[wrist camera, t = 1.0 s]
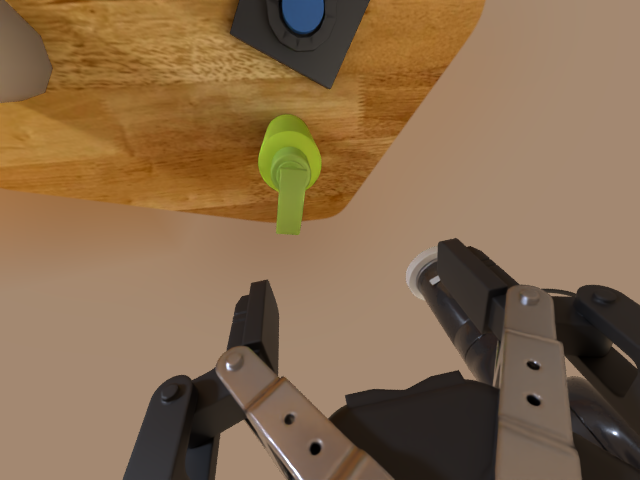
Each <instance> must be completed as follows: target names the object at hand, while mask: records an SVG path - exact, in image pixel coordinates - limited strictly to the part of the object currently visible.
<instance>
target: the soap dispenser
mask: <svg viewBox="0 0 640 480" xmlns="http://www.w3.org/2000/svg"><path fill="white" fill-rule="evenodd" d="M258 167H259V171H260V174H261V176H262V178H263V180H264V181H265V182H266V183H267V184H268V185H269V186H270V187H271V188H272V189H274V190H276V191H278V192H279V197H278V212H277V227H276V233H277V234H292V235H299V233H300V228H301V221H302V213H303V205H304V196H305V190H307V189H308V188H310V187H311V186H312V185H313V184H314V183H315V181H316V180H317V178H318V176H319V174H320V171H321V155H320V152H319V150H318V148H317V146H316V144H315V142H314V140H313V137H312V135H311V133H310V131H309V129H308V127H307V126H306V124H305V123H304V122H303V121H302V120H301V119H300V118H298V117H296V116H293V115H281V116H278V117H276V118H275V119H273V120H272V121H271V122H270V124H269V125H268V127H267V130H266V133H265V136H264V140H263V143H262V146H261V149H260V152H259V157H258Z"/></svg>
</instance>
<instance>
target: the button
mask: <svg viewBox="0 0 640 480" xmlns="http://www.w3.org/2000/svg"><path fill="white" fill-rule="evenodd" d="M323 12H324V2H323V0H282V14H283V18H284V20H285V22H286V24H287V26H288V27H289V28H290V29H291V30H292V31H293V32H295V33H298V34H308V33H310V32H312V31H313V30H315V29H316V27H317V26H318V25H319V23H320V21H321V19H322V16H323Z"/></svg>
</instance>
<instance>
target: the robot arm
mask: <svg viewBox="0 0 640 480" xmlns="http://www.w3.org/2000/svg"><path fill="white" fill-rule="evenodd" d="M416 287H417V289H418V290H419V292H420V293H421V294H422V296H423V297H424V299H425V300H426V302H427V304H428V305H429V307H430V308H431V310H432V312H433V313H434V314H435V316H436V318H437V319H438V321H439V322H440V324H441V326H442V327H443V329H444V330H445V332H446V333H447V335H448V337H449V338H450V340H451V341H452V343H453V344H454V346H455V347H456V349H457V350H458V352H459V354H460V355H461V357H462V358H463V360H464V361H465V363H466V364H467V366H468V368H469V369H470V371H471V372H472V374H473V375H474V377H475V378H476V380H477V381H473V380H465V379H464V378H463V377H462V375H461V373H460V372H459V370H458V371H453V372H449V373H444V374H440V375H435V376H431V377H429V378H427V379H425V380H423V381H421V382H419V383H417V384H416V385H414V386H412V387H410V388H408V389H406V390H385V389H372V390H367V391H362V392H358V393H353V394H348V395H345V397H346V402H347V405H345V406H343V407H341V408H340V409H338V410H337V411H336V412H335V413H333V414H332V415H331V416H330V417H329V418H328V419H327V418H326V417H325V416H324V415H323V414H322V413H321V412H320V411H319V410H318V409H317V408H316V407H315V406H314V405H313V404H312V403H311V402H310V401H309V400H308V399H307V398H306V397H305V396H304V395H303V394H302V393H301V392H300V391H299V390H298V389H297V388H296V387H295V386H294V385H293V384H292V383H291V382H290V381H289V380H288V379H286V378H285V377H281V378H279V377H278V348H279V313H278V307H277V303H276V300H275V298H274V295H273V292H272V289H271V286H270V283H269V281H268V280H263V281H259V282H254V283H251V287H250V294H249V295H246V296H242V297H241V298H240V300H239V301H238V303H237V304H236V307H235V312H234V317H233V323H232V327H231V332H230V336H229V341H228V346H227V351H226V352H225V353H224V354H223V355H222V356H221V357H220V358H219V360H218V361H217V364H216V367H215V368H214V369H212V370H211V371H209V372H207V373H206V374H204V375H202V376H200V377H198V378H196V379H194V380H191V379H190V378H189V377H188V376H186V375H178V376H175V377H172V378H170V379H168V380H167V381H165V382H164V383H163V384H162V385H160V386H159V388H158V389H157V390H156V391H155V392H154V394H153V396H152V398H151V401H150V403H149V406H148V409H147V412H146V415H145V418H144V420H143V423H142V426H141V429H140V432H139V435H138V437H137V440H136V443H135V446H134V449H133V452H132V455H131V458H130V460H129V463H128V466H127V469H126V472H125V474H124V477H123V480H215V473H216V465H217V456H218V448H219V439H220V433H221V432H223V431H224V430H226V429H228V428H230V427H232V426H233V425H235V424H236V423H239V422H240V421H242V420H244V421H245V422H246V424H247V425H248V426H249V428H250V429H251V431H252V432H253V433H254V435H255V436H256V438H257V439H258V440H259V441H260V443H261V444H262V446H263V447H264V449H265V450H266V451H267V453H268V454H269V456H270V457H271V458H272V460H273V462H274V463H275V465H276V466H277V468H278V469H279V471H280V472H281V474H282V475H283V476H284V478H285V479H286V480H640V305H639V304H637V303H636V302H634V301H633V300H631V299H630V298H628V297H627V296H625V295H624V294H622V293H621V292H619V291H617V290H614V289H612V288H609V287H605V286H600V285H586V286H582V287H580V288H579V289H578V291H577V293H576V294H575V293H572V292H569V291H564V290H557V289H540V288H537V287H534V286H530V285H519V284H518V283H517V282H516V281H515V280H514V279H513V278H511V277H510V276H509V275H508V274H507V273H506V272H505V271H504V270H502V269H501V268H500V267H499V266H498V265H496V264H495V263H494V262H493V261H492V260H490V259H489V257H488V256H486V255H485V254H484V253H483V252H482V251H480V250H478V249H476V248H473V247H471V246H469V247H466V246H464V244H463V243H461V242H460V241H459V240H458V239H457V238H454V239H450V240H445V241H441V242H439V243H438V252H437V258H436V259H433V260H431V261H430V262H428V263H427V264H425V265H424V266H423V267H422V268H421V270H420V271H419V273H418V275H417V277H416ZM548 293H559V294H564V295H569V296H572V297H558V296H550V295H549V294H548ZM613 343H614V344H615V345H617V346H618V347H619V348H620V349H621V350H622V351H623V352H625V353H626V354H627V355H628V356H629V357H630V358H631V359H632V360H633V361H634V362H635V364H636V366H637V368H635V367H634V366H633V365H632V364H631V363H630V362H628V360H627V359H625V358H624V357H623V356H622V355H621V354H620V353H619V352H617V351H616V350H615V349H614V348H613V347H612V344H613ZM564 355H565V356H566V358H567V359H568V360H569V361H570V362H571V363H572V364H573V365H574V366H575V367H576V368H577V370H578V371H580V373H581V374H582V375H583V376H584V377H585V378H586V379H587V380H585V379H583V378H581V377H576V376H572V377H566V368H565V358H564Z"/></svg>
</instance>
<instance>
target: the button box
mask: <svg viewBox="0 0 640 480" xmlns="http://www.w3.org/2000/svg"><path fill="white" fill-rule="evenodd" d="M369 1H370V0H323V2H324V12H323V16H322V19H321V21H320V23H319V25H318V26H317V27H316V29H315V30H313V31H312V32H310V33H308V34H298V33H295V32H293V31H292V30H291V29H290V28H289V27H288V26H287V24H286V22H285V20H284V18H283V14H282V0H239V3H238V6H237V10H236V13H235V17H234V20H233V24H232V27H231V31H230V34H231V35H232V36H234V37H235V38H237V39H239V40H241V41H243V42H244V43H246V44H248V45H250V46H252V47H253V48H255V49H257V50H259V51H261V52H262V53H264V54H266V55H268V56H270V57H271V58H273V59H275V60H277V61H279V62H280V63H282V64H284V65H286V66H288V67H289V68H291V69H293V70H295V71H297V72H298V73H300V74H302V75H304V76H306V77H307V78H309V79H311V80H313V81H315V82H316V83H318V84H320V85H322V86H324V87H325V88H327V89H331V87H332V85H333V82H334V80H335V78H336V76H337V73H338V71H339V69H340V67H341V64H342V62H343V60H344V58H345V55H346V53H347V51H348V49H349V46H350V44H351V42H352V40H353V37H354V35H355V33H356V31H357V28H358V26H359V24H360V22H361V19H362V17H363V15H364V13H365V10H366V8H367V6H368V4H369Z"/></svg>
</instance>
